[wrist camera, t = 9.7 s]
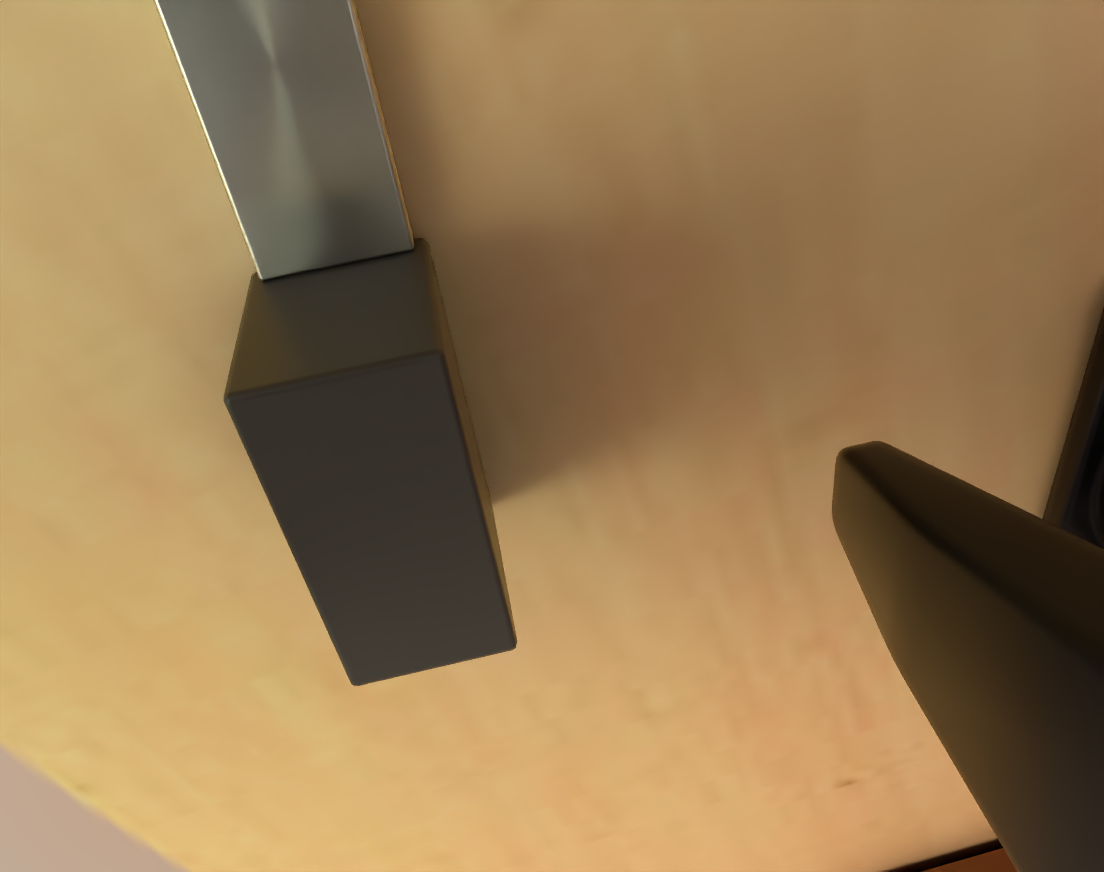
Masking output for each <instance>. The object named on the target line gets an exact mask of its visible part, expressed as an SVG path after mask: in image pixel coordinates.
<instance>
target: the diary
mask: <svg viewBox="0 0 1104 872" xmlns="http://www.w3.org/2000/svg"><path fill="white" fill-rule="evenodd" d="M922 872H1017V870H1016V868H1015V867H1014V865H1013V863H1012V861H1011V860H1010V858H1009V856H1008V855H1007V853H1006V851H1005V850H1004V848H1002V849H998V850H995V851H991V852H988V853H984V854H981V855H977V856H974V857H970V858H967V859H964V860H960V861H957V862H953V863H950V864H946V865H943V866H939V867H936V868H932V869H929V870H926V871H922Z"/></svg>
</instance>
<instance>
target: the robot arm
mask: <svg viewBox="0 0 1104 872" xmlns="http://www.w3.org/2000/svg"><path fill="white" fill-rule="evenodd" d="M832 518H833V523H834V526H835V530H836V532H837V535H838V537H839V539H840V541H841V544H842V546H843V548H844V550H845V553H846V555H847V557H848V560H849V562H850V564H851V566H852V569H853V571H854V573H855V575H856V578H857V580H858V582H859V584H860V587H861V589H862V591H863V593H864V596H865V598H866V600H867V602H868V605H869V607H870V609H871V611H872V614H873V616H874V618H875V620H876V623H877V625H878V627H879V629H880V632H881V634H882V636H883V638H884V641H885V643H886V645H887V647H888V649H889V651H890V653H891V655H892V657H893V660H894V662H895V663H896V665H897V667H898V669H899V671H900V672H901V674H902V676H903V678H904V680H905V681H906V683H907V685H908V687H909V688H910V690H911V692H912V693H913V695H914V697H915V698H916V700H917V702H918V704H919V705H920V707H921V709H922V710H923V712H924V714H925V715H926V717H927V719H928V721H929V722H930V724H931V726H932V727H933V729H934V731H935V732H936V734H937V736H938V737H939V739H940V741H941V743H942V744H943V746H944V748H945V749H946V751H947V753H948V754H949V756H950V758H951V760H952V761H953V763H954V765H955V766H956V768H957V770H958V771H959V773H960V775H961V777H962V778H963V780H964V782H965V783H966V785H967V787H968V788H969V790H970V792H971V794H972V795H973V797H974V799H975V800H976V802H977V804H978V805H979V807H980V809H981V810H982V812H983V814H984V816H985V817H986V819H987V821H988V822H989V824H990V826H991V827H992V829H993V831H994V833H995V834H996V836H997V838H998V839H999V841H1000V843H1001V844H1002V846H1003V848H1004V850H1005V851H1006V853H1007V855H1008V856H1009V858H1010V860H1011V861H1012V863H1013V865H1014V867H1015V868H1016V870H1017V872H1104V309H1103V312H1102V316H1101V319H1100V323H1099V326H1098V330H1097V333H1096V337H1095V340H1094V343H1093V347H1092V350H1091V354H1090V357H1089V361H1088V364H1087V368H1086V371H1085V375H1084V378H1083V382H1082V385H1081V388H1080V392H1079V395H1078V399H1077V402H1076V406H1075V409H1074V413H1073V416H1072V420H1071V423H1070V426H1069V430H1068V433H1067V437H1066V440H1065V444H1064V447H1063V451H1062V454H1061V458H1060V461H1059V465H1058V468H1057V471H1056V475H1055V478H1054V482H1053V485H1052V489H1051V492H1050V496H1049V499H1048V503H1047V506H1046V510H1045V513H1044V516H1043V519H1041V518H1039V517H1037V516H1035V515H1033V514H1031V513H1029V512H1026V511H1024V510H1022V509H1020V508H1018V507H1016V506H1014V505H1012V504H1010V503H1008V502H1006V501H1004V500H1002V499H1000V498H998V497H996V496H994V495H992V494H990V493H987V492H985V491H983V490H981V489H979V488H977V487H975V486H973V485H971V484H969V483H967V482H965V481H963V480H961V479H959V478H957V477H955V476H953V475H951V474H949V473H946V472H944V471H942V470H940V469H938V468H936V467H934V466H932V465H930V464H928V463H926V462H924V461H922V460H920V459H918V458H916V457H914V456H912V455H910V454H908V453H905V452H903V451H901V450H899V449H897V448H895V447H893V446H891V445H889V444H887V443H884V442H881V441H872V442H868V443H863V444H859V445H854V446H850V447H846V448H844V449H842V450H841V451H840V452H839V453H838V455H837V458H836V464H835V476H834V488H833V500H832Z"/></svg>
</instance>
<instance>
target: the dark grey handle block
mask: <svg viewBox="0 0 1104 872" xmlns="http://www.w3.org/2000/svg"><path fill="white" fill-rule="evenodd" d="M154 3H155V6H156V8H157V11H158V13H159V16H160V19H161V21H162V24H163V27H164V29H165V32H166V34H167V37H168V40H169V42H170V45H171V48H172V50H173V53H174V56H175V58H176V61H177V63H178V66H179V69H180V71H181V74H182V77H183V79H184V82H185V84H186V87H187V90H188V92H189V95H190V98H191V100H192V103H193V106H194V108H195V111H196V113H197V116H198V119H199V121H200V124H201V127H202V129H203V132H204V135H205V137H206V140H207V142H208V145H209V148H210V150H211V153H212V156H213V158H214V161H215V163H216V166H217V169H218V171H219V174H220V177H221V179H222V182H223V185H224V187H225V190H226V192H227V195H228V198H229V200H230V203H231V206H232V208H233V211H234V213H235V216H236V219H237V221H238V224H239V227H240V229H241V232H242V235H243V237H244V240H245V242H246V245H247V248H248V250H249V253H250V256H251V258H252V261H253V263H254V266H255V269H256V271H257V272H256V273H254V274H253V275H252V277H251V281H250V285H249V290H248V294H247V298H246V303H245V307H244V311H243V316H242V320H241V324H240V328H239V333H238V337H237V341H236V346H235V350H234V354H233V359H232V363H231V367H230V371H229V376H228V380H227V384H226V389H225V393H224V403H225V405H226V407H227V409H228V412H229V414H230V416H231V418H232V420H233V423H234V425H235V427H236V429H237V432H238V434H239V436H240V438H241V440H242V443H243V445H244V447H245V449H246V451H247V454H248V456H249V458H250V460H251V463H252V465H253V467H254V469H255V471H256V474H257V476H258V478H259V480H260V483H261V485H262V487H263V489H264V491H265V494H266V496H267V498H268V500H269V502H270V505H271V507H272V509H273V511H274V514H275V516H276V518H277V520H278V522H279V525H280V527H281V529H282V531H283V534H284V536H285V538H286V540H287V542H288V545H289V547H290V549H291V551H292V553H293V556H294V558H295V560H296V562H297V565H298V567H299V569H300V571H301V573H302V576H303V578H304V580H305V582H306V585H307V587H308V589H309V591H310V593H311V596H312V598H313V600H314V602H315V604H316V607H317V609H318V611H319V613H320V616H321V618H322V620H323V622H324V624H325V627H326V629H327V631H328V633H329V635H330V638H331V640H332V642H333V644H334V647H335V649H336V651H337V653H338V655H339V658H340V660H341V662H342V664H343V667H344V669H345V671H346V673H347V675H348V678H349V680H350V682H351V684H352V685H354V686H360V685H364V684H368V683H373V682H377V681H381V680H385V679H390V678H394V677H398V676H403V675H407V674H411V673H416V672H420V671H424V670H428V669H433V668H437V667H441V666H446V665H450V664H454V663H459V662H463V661H467V660H471V659H476V658H480V657H484V656H489V655H493V654H497V653H502V652H506V651H510V650H513V649H515V648H516V644H517V638H516V633H515V627H514V622H513V617H512V611H511V606H510V600H509V595H508V590H507V584H506V579H505V573H504V568H503V563H502V557H501V552H500V546H499V541H498V536H497V530H496V525H495V519H494V514H493V509H492V504H491V500H490V496H489V492H488V488H487V484H486V479H485V475H484V471H483V467H482V463H481V459H480V454H479V450H478V446H477V442H476V438H475V434H474V429H473V425H472V421H471V417H470V413H469V409H468V404H467V400H466V396H465V392H464V388H463V384H462V379H461V375H460V371H459V367H458V363H457V359H456V354H455V350H454V346H453V342H452V338H451V334H450V330H449V325H448V321H447V317H446V313H445V309H444V305H443V300H442V296H441V292H440V288H439V284H438V280H437V275H436V271H435V267H434V263H433V259H432V255H431V250H430V246H429V243H428V242H427V241H426V240H425V239H416V240H414V239H413V233H412V229H411V225H410V221H409V217H408V213H407V209H406V205H405V201H404V197H403V193H402V189H401V185H400V181H399V177H398V173H397V169H396V165H395V161H394V157H393V153H392V149H391V145H390V141H389V137H388V133H387V129H386V125H385V121H384V117H383V113H382V109H381V105H380V101H379V97H378V93H377V89H376V85H375V81H374V77H373V73H372V69H371V65H370V61H369V57H368V53H367V49H366V45H365V41H364V37H363V33H362V29H361V25H360V21H359V17H358V13H357V9H356V5H355V1H354V0H154Z"/></svg>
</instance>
